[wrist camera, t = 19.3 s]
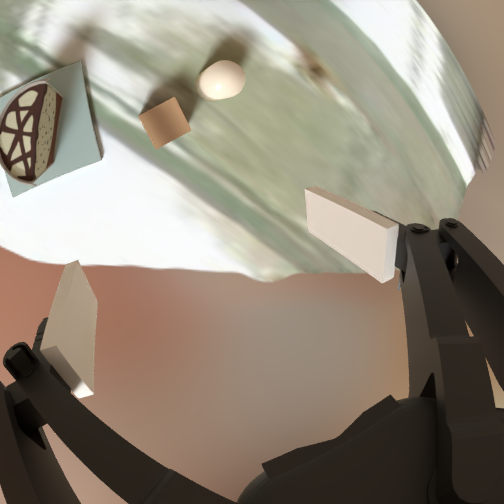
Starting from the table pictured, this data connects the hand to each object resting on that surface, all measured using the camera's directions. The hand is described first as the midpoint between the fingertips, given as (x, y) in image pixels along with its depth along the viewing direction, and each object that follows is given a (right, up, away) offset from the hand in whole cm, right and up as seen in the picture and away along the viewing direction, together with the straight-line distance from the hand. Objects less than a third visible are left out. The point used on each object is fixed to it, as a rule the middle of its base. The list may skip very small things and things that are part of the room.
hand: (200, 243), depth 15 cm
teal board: (-26, +16, +15) cm, 34 cm away
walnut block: (-10, +17, +22) cm, 29 cm away
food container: (-26, +16, +14) cm, 34 cm away
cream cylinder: (-3, +23, +22) cm, 32 cm away
